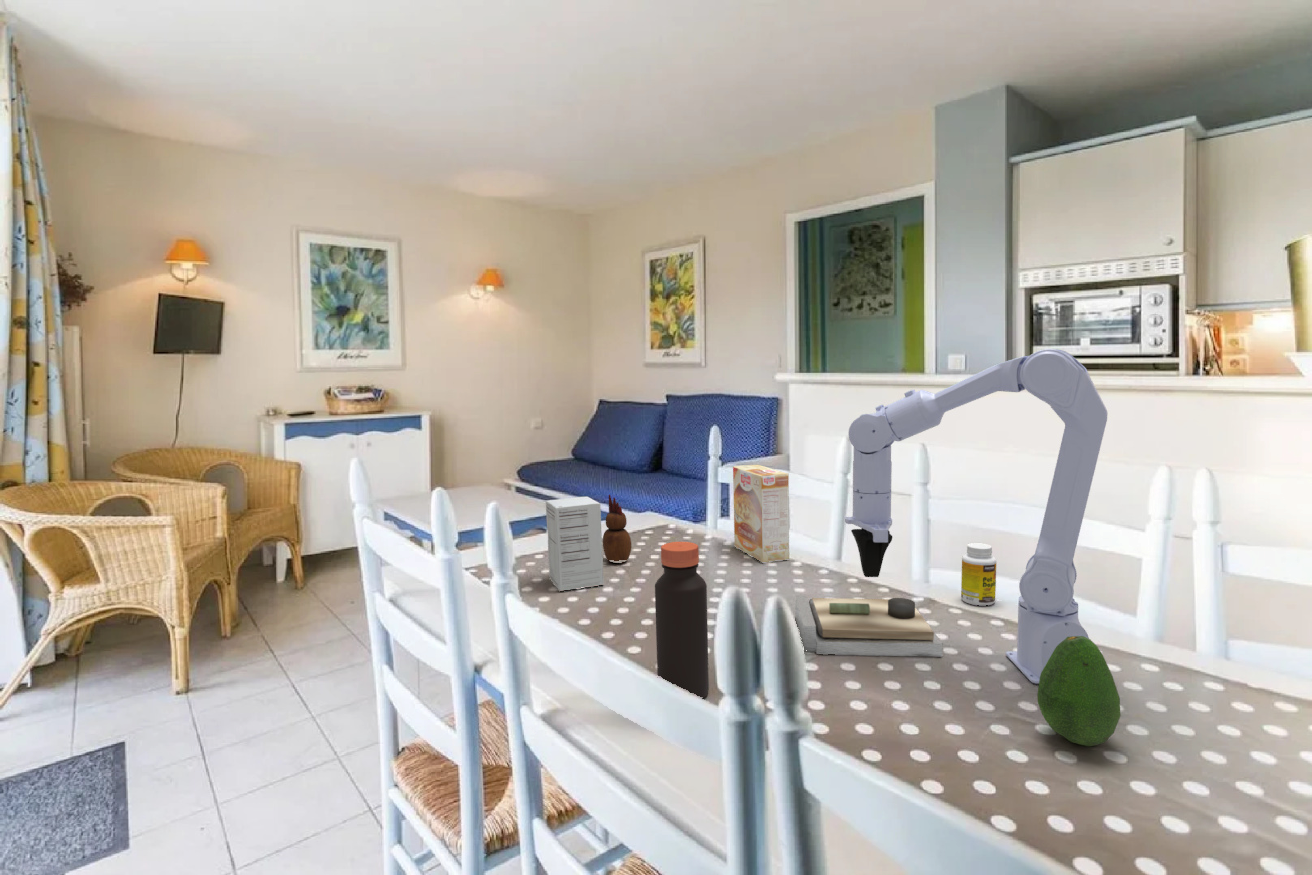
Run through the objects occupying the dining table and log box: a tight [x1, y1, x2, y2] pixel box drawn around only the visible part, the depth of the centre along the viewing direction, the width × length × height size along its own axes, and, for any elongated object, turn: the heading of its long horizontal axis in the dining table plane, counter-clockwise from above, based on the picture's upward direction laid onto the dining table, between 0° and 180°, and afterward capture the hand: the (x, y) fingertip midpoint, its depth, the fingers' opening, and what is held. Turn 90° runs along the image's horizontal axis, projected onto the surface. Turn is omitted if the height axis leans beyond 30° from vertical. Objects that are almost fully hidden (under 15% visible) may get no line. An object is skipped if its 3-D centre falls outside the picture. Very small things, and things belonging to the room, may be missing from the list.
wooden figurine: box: [602, 494, 632, 561], centre depth 154 cm, size 7×6×15 cm
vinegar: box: [654, 541, 710, 699], centre depth 91 cm, size 7×7×20 cm
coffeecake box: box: [732, 464, 790, 563], centre depth 157 cm, size 15×7×20 cm, turn 17°
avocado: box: [1036, 636, 1122, 747], centre depth 78 cm, size 8×8×12 cm
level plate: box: [808, 597, 935, 640], centre depth 110 cm, size 14×17×3 cm
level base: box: [794, 594, 944, 658], centre depth 110 cm, size 16×20×4 cm
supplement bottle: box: [960, 542, 997, 607], centre depth 123 cm, size 6×6×10 cm
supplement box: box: [545, 496, 605, 591], centre depth 140 cm, size 10×9×17 cm
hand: (870, 575), depth 109 cm, fingers closed
